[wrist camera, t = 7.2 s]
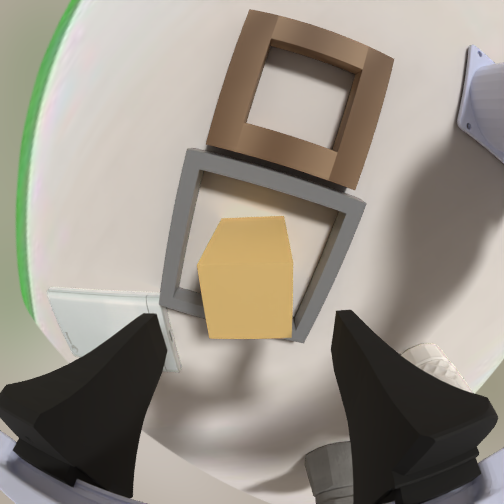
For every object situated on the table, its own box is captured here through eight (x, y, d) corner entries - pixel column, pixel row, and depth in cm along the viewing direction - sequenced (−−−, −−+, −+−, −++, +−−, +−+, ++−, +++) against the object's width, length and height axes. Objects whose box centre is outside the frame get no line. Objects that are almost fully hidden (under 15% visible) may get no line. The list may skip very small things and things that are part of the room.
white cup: (387, 345, 22) (425, 435, 13) (454, 330, 21) (502, 401, 12) (372, 397, 25) (393, 475, 16) (432, 382, 24) (463, 449, 15)
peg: (283, 216, 18) (293, 262, 11) (284, 272, 19) (291, 337, 13) (221, 218, 18) (196, 265, 12) (227, 273, 20) (209, 338, 13)
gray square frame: (359, 198, 17) (366, 203, 16) (301, 330, 21) (303, 343, 20) (193, 148, 16) (187, 148, 15) (164, 294, 21) (158, 304, 19)
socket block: (385, 64, 13) (394, 59, 12) (348, 186, 17) (355, 190, 15) (251, 18, 13) (249, 9, 11) (210, 143, 16) (205, 144, 15)
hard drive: (73, 357, 24) (179, 375, 23) (44, 291, 20) (158, 299, 20) (80, 348, 25) (183, 363, 24) (54, 283, 22) (165, 288, 21)
